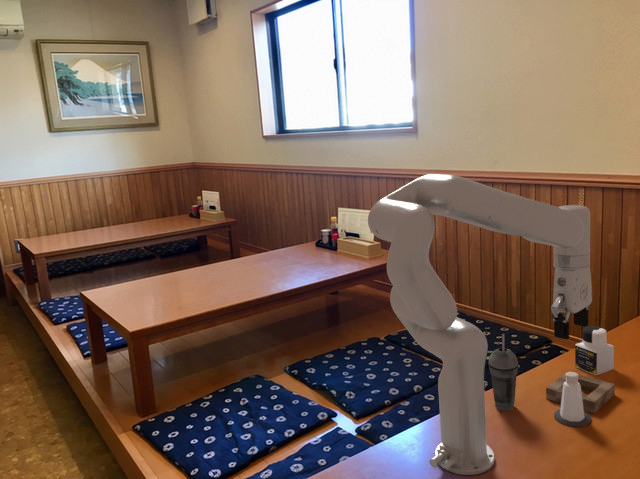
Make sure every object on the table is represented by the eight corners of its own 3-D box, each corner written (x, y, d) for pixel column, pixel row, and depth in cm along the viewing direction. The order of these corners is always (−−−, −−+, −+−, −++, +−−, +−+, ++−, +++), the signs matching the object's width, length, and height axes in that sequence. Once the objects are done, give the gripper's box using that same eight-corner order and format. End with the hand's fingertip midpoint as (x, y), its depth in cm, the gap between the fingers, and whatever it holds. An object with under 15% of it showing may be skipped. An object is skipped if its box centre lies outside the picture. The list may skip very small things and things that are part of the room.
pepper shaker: (569, 424, 128) (569, 380, 126) (554, 413, 133) (554, 371, 131) (589, 419, 129) (589, 376, 127) (574, 408, 134) (574, 367, 132)
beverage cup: (515, 398, 142) (513, 326, 139) (523, 413, 135) (521, 337, 131) (487, 400, 143) (484, 328, 139) (492, 414, 136) (490, 338, 132)
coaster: (581, 430, 126) (582, 429, 126) (548, 419, 132) (548, 417, 132) (596, 416, 131) (596, 415, 131) (563, 406, 137) (563, 404, 137)
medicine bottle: (574, 367, 157) (574, 327, 154) (592, 360, 159) (592, 322, 157) (596, 376, 150) (596, 335, 148) (614, 369, 153) (614, 329, 151)
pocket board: (594, 413, 132) (594, 402, 132) (546, 398, 141) (546, 387, 141) (614, 394, 140) (614, 383, 139) (567, 381, 149) (567, 371, 148)
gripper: (570, 271, 115) (570, 347, 119) (604, 253, 126) (604, 324, 130) (536, 266, 121) (537, 339, 124) (572, 250, 132) (572, 317, 135)
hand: (571, 331), depth 127 cm, fingers open, 9 cm apart
